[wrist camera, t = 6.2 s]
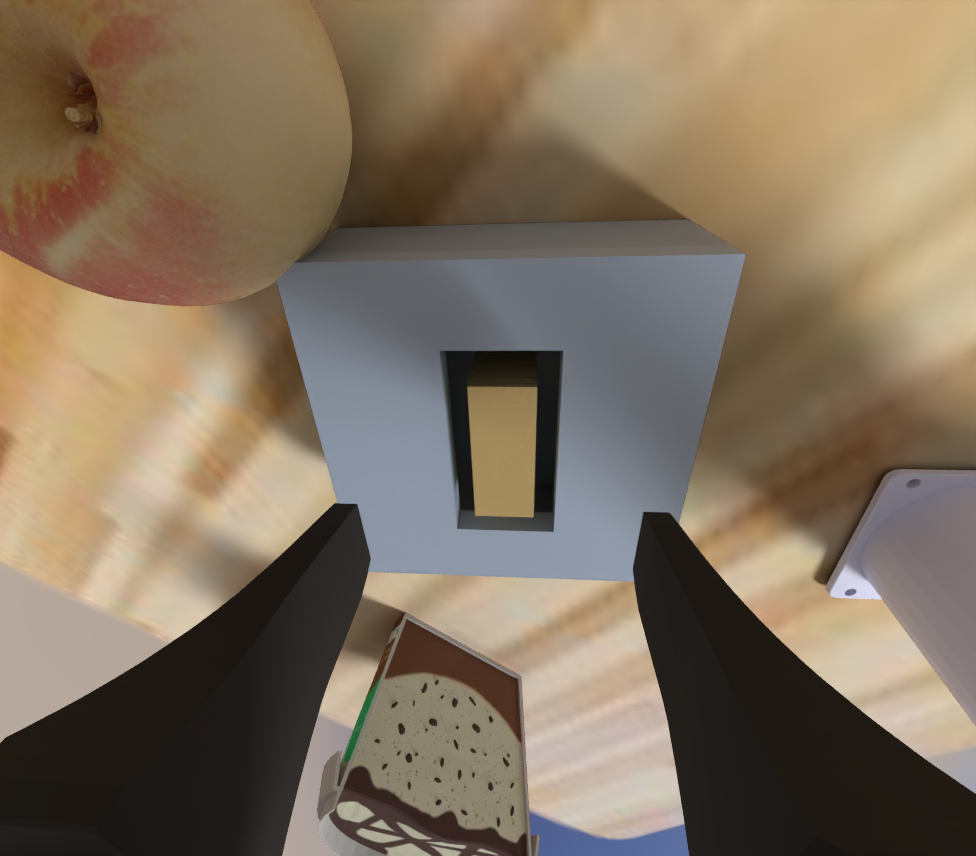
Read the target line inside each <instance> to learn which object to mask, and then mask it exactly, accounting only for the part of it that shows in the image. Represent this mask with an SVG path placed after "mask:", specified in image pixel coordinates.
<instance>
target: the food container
mask: <svg viewBox="0 0 976 856" xmlns="http://www.w3.org/2000/svg"><path fill="white" fill-rule="evenodd" d="M341 753H342V752H341V751H338V752H337V753H335V754H334V755H333V756H332V757H330V759H329V760H328V761H327V763H326V764H325V766H324V770H323V774H322V780H321V788H320V794H319V801H318V808H317V811H318V818H319V819H320V821H319V826H318V833H319V837H320V838H321V840H322V842H323V843H324V844H325V845H326V846H327V847H328V849H329V850H331V851H332V852H333V853H335V854H336V855H337V856H537V855H538V846H539V837H540V836H539V835H533V836H531V835H530V819H529V801H528V784H527V767H526V749H525V732H524V715H523V698H522V681H521V676H520V675H518V674H516V673H514V672H512V671H511V670H509V669H507V668H505V667H503V666H502V665H500V664H498V663H496V662H494V661H493V660H491V659H489V658H487V657H485V656H483V655H482V654H480V653H478V652H476V651H474V650H473V649H471V648H469V647H467V646H465V645H464V644H462V643H460V642H458V641H456V640H454V639H453V638H451V637H449V636H447V635H445V634H444V633H442V632H440V631H438V630H436V629H435V628H433V627H431V626H429V625H427V624H425V623H424V622H422V621H420V620H418V619H416V618H415V617H413V616H411V615H409V614H407V613H404V614H403V615H402V616H401V617H400V618H399V619H398V620H397V621H396V623H395V626H394V628H393V631H392V633H391V636H390V638H389V641H388V643H387V646H386V648H385V651H384V654H383V656H382V659H381V661H380V664H379V666H378V669H377V671H376V674H375V676H374V679H373V682H372V684H371V687H370V689H369V692H368V694H367V697H366V699H365V702H364V704H363V707H362V710H361V712H360V715H359V717H358V720H357V722H356V725H355V727H354V730H353V732H352V735H351V738H350V740H349V743H348V745H347V748H346V750H345V753H344V755H343V758H342V761H341V763H340V760H341Z"/></svg>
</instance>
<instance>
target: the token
mask: <svg viewBox="0 0 976 856" xmlns="http://www.w3.org/2000/svg"><path fill="white" fill-rule="evenodd" d="M467 390H468V407H469V423H470V439H471V455H472V472H473V488H474V504H475V516H501V517H534V486H535V451H536V417H537V352H536V351H476V353H475V357H474V361H473V365H472V369H471V373H470V377H469V382H468V386H467Z"/></svg>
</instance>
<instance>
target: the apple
mask: <svg viewBox="0 0 976 856" xmlns="http://www.w3.org/2000/svg"><path fill="white" fill-rule="evenodd" d="M351 155H352V126H351V118H350V110H349V102H348V97H347V93H346V88H345V84H344V81H343V77H342V74H341V70H340V67H339V64H338V61H337V58H336V55H335V52H334V49H333V47H332V44H331V42H330V40H329V38H328V35H327V33H326V31H325V29H324V26H323V24H322V22H321V20H320V18H319V16H318V15H317V13H316V11H315V9H314V7H313V6H312V4H311V2H310V0H0V250H1V251H3V252H5V253H7V254H9V255H10V256H12V257H14V258H16V259H18V260H20V261H22V262H23V263H25V264H28V265H30V266H32V267H34V268H36V269H38V270H40V271H42V272H44V273H46V274H48V275H50V276H52V277H54V278H57V279H59V280H61V281H63V282H66V283H68V284H71V285H73V286H76V287H79V288H82V289H85V290H88V291H91V292H94V293H97V294H101V295H104V296H108V297H112V298H117V299H122V300H128V301H135V302H143V303H152V304H161V305H173V306H205V305H212V304H219V303H224V302H229V301H233V300H237V299H241V298H244V297H246V296H249V295H251V294H253V293H256V292H258V291H260V290H263V289H265V288H267V287H269V286H271V285H272V284H274V283H276V280H277V279H278V278H280V277H281V276H282V275H283V274H284V273H285V272H286V271H287V270H288V269H289V268H290V267H291V265H292V264H293V263H294V262H297V261H299V260H300V259H302V258H304V257H306V256H307V255H309V254H310V253H311V252H312V251H313V250H314V249H315V248H316V246H317V245H318V244H319V243H320V242H321V240H322V239H323V238H324V236H325V234H326V233H327V231H328V229H329V228H330V226H331V224H332V222H333V220H334V218H335V216H336V214H337V211H338V209H339V206H340V204H341V200H342V197H343V194H344V190H345V187H346V183H347V179H348V175H349V170H350V164H351Z"/></svg>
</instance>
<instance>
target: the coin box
mask: <svg viewBox="0 0 976 856" xmlns="http://www.w3.org/2000/svg"><path fill="white" fill-rule="evenodd" d="M745 256H746V254H745V253H743V252H742V251H740V250H738V249H737V248H735V247H734V246H732V245H730V244H729V243H727V242H725V241H724V240H722V239H720V238H719V237H717V236H715V235H714V234H712V233H711V232H709V231H707V230H706V229H704V228H702V227H701V226H699V225H697V224H696V223H694V222H692V221H691V220H689V219H666V220H627V221H588V222H549V223H510V224H470V225H431V226H392V227H353V228H336V229H334V230H332V231H330V232H328V233H326V234H325V236H324V238H323V239H322V240H321V242H320V243H319V244H318V245H317V246H316V248H315V249H314V250H313V251H312V252H311V253H310V254H309V255H307V256H306V257H304V258H302V259H300V260H299V261H297V262H294V263H293V264H292V265H291V267H290V268H289V269H288V270H287V271H286V272H285V273H284V274H283V275H282V276H281V277H280V278H278V279H277V280H276V282H277V285H278V289H279V293H280V296H281V300H282V304H283V307H284V311H285V314H286V318H287V322H288V325H289V329H290V332H291V336H292V340H293V343H294V347H295V351H296V354H297V358H298V361H299V365H300V369H301V372H302V376H303V380H304V383H305V387H306V390H307V394H308V398H309V401H310V405H311V408H312V412H313V416H314V419H315V423H316V427H317V430H318V434H319V437H320V441H321V445H322V448H323V452H324V456H325V459H326V463H327V466H328V470H329V474H330V477H331V481H332V485H333V488H334V492H335V495H336V499H337V503H341V504H358V508H359V512H360V516H361V520H362V525H363V529H364V533H365V537H366V541H367V545H368V549H369V553H370V557H371V561H370V565H369V570H368V572H388V573H415V574H442V575H469V576H496V577H523V578H550V579H576V580H603V581H630V582H634V576H633V564H634V559H635V553H636V548H637V543H638V538H639V532H640V527H641V522H642V517H643V512H669V513H670V514H671V515H672V516H673V517H674V518H675V520H676V521H677V522H678V524H679V521H680V517H681V513H682V509H683V505H684V501H685V497H686V493H687V489H688V485H689V481H690V477H691V473H692V469H693V465H694V461H695V457H696V453H697V449H698V444H699V440H700V436H701V432H702V428H703V424H704V420H705V416H706V412H707V408H708V404H709V400H710V396H711V392H712V388H713V384H714V380H715V376H716V372H717V368H718V364H719V360H720V356H721V352H722V348H723V344H724V340H725V336H726V332H727V328H728V324H729V320H730V316H731V312H732V308H733V304H734V300H735V296H736V292H737V288H738V284H739V280H740V276H741V272H742V268H743V264H744V260H745ZM476 351H536V352H537V417H536V451H535V486H534V517H501V516H475V504H474V488H473V472H472V455H471V439H470V423H469V407H468V390H467V386H468V382H469V377H470V373H471V369H472V365H473V361H474V357H475V353H476Z"/></svg>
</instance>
